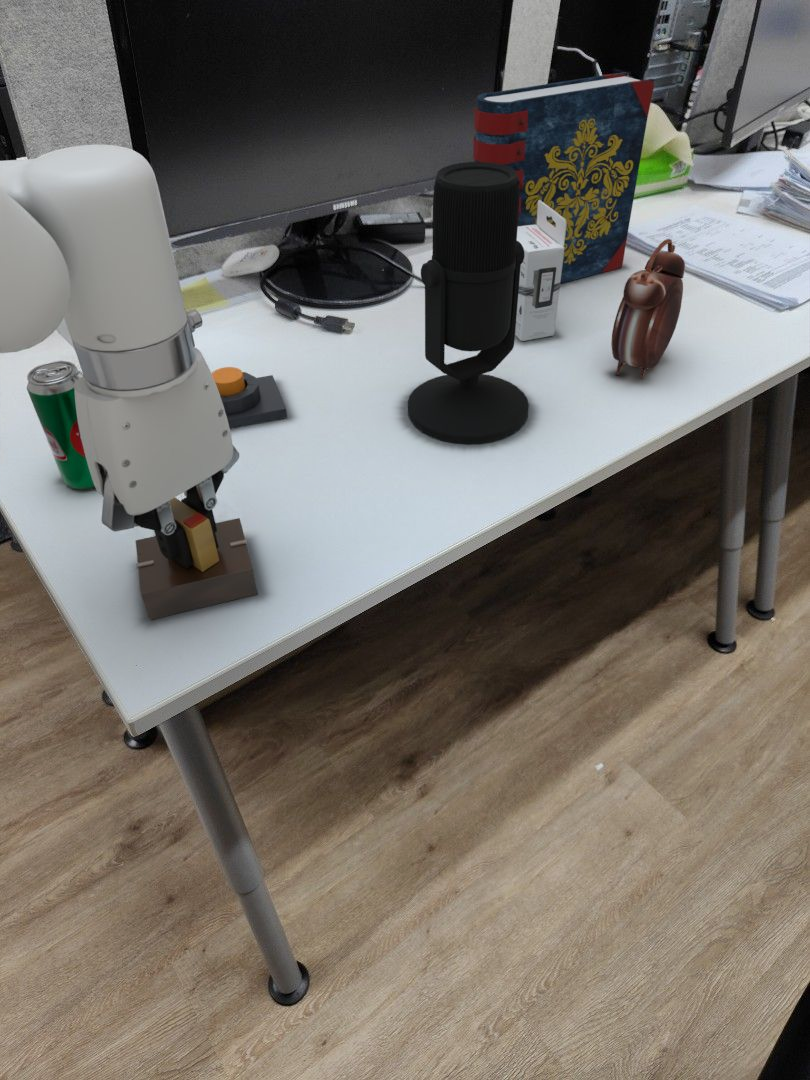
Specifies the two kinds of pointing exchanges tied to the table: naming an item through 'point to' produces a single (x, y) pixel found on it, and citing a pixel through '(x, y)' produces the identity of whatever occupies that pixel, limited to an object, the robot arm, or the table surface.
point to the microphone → (471, 306)
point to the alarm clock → (649, 310)
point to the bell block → (254, 402)
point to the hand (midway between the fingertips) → (191, 550)
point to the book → (572, 158)
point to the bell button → (229, 380)
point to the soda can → (60, 419)
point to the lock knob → (196, 534)
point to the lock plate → (195, 575)
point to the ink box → (540, 274)
